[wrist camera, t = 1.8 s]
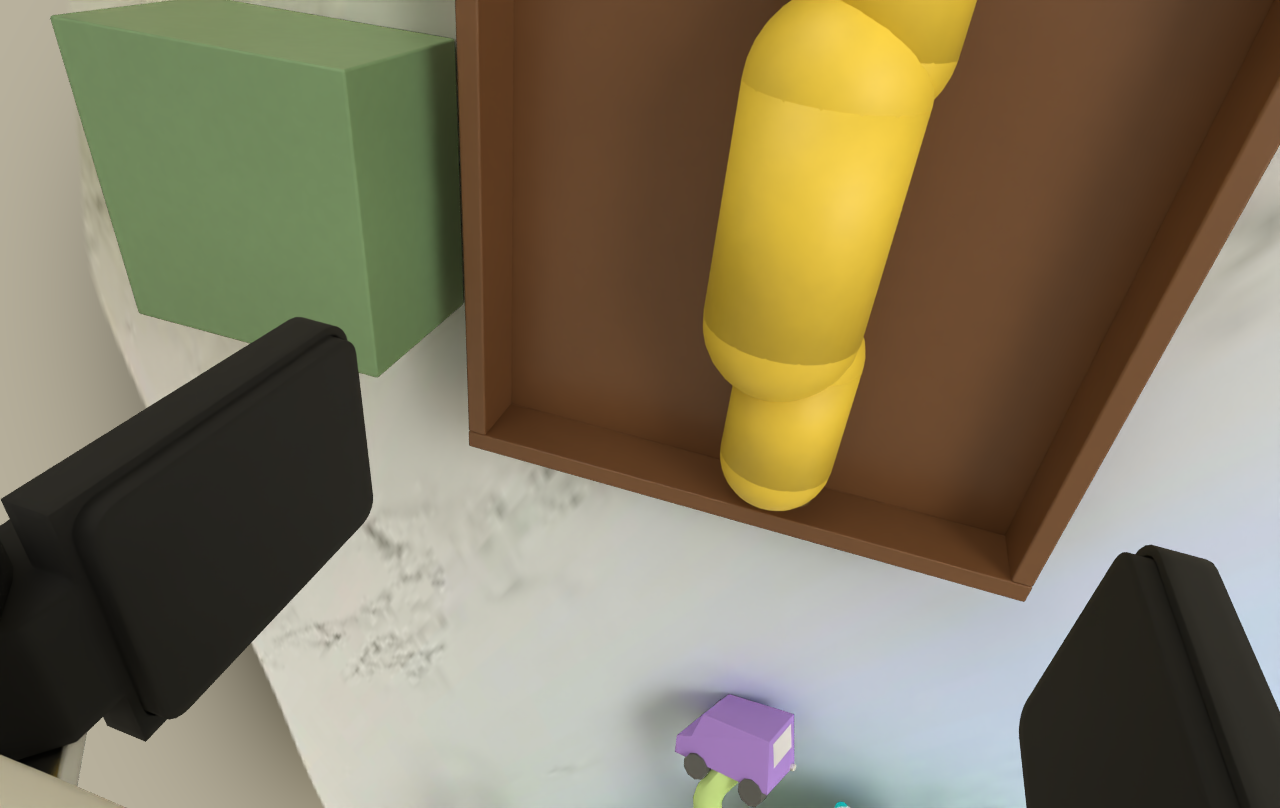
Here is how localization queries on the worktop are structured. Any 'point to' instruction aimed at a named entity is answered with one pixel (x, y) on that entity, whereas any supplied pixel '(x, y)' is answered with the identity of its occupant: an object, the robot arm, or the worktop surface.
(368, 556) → the worktop surface
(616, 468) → the tray
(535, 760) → the worktop surface
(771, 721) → the figurine
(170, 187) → the block
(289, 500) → the robot arm
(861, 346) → the yellow stacked capsules
